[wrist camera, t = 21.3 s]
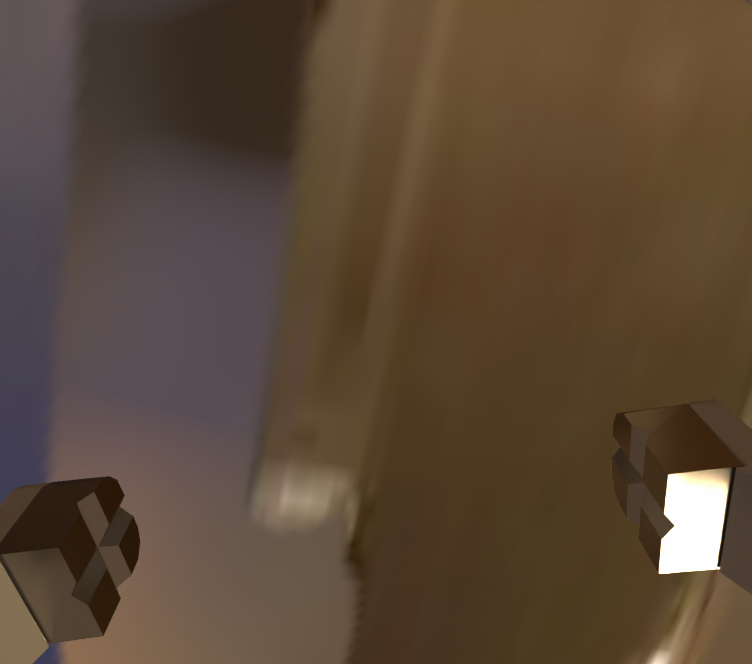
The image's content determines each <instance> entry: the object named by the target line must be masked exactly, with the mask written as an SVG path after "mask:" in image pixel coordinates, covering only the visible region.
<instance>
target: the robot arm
mask: <svg viewBox="0 0 752 664" xmlns="http://www.w3.org/2000/svg"><path fill="white" fill-rule="evenodd" d="M613 436H614V438H615V439H616V441H617V443H618V444H619V446H620V449H619V450H618V451H617V452H616V453H615V455H614V456H613V457H612V480H613V485H614V490H615V494H616V497H617V499H618V502H619V504H620V506H621V508H622V510H623V512H624V514H625V516H626V517H627V518H629V519H630V520H632V521H634V522H636V523H637V524H639V525H640V526H639V540H640V542H641V544H642V545H643V547H644V549H645V551H646V552H647V554H648V556H649V558H650V559H651V561H652V563H653V564H654V566H655V568H656V570H657V571H658V573H659V574H662V573H674V572H686V571H698V570H710V569H720V570H719V572H721V573H722V574H723V575H725V576H726V577H728V578H729V579H731V580H732V581H733V582H735V583H736V584H738V585H739V586H741V587H742V588H744V589H745V590H746V591H748V592H749V593H750V594H752V429H751V428H750V427H749V426H747V425H746V424H745V423H744V422H743V421H742V420H741V419H740V418H739V417H738V416H737V415H736V414H735V413H734V412H733V411H732V410H731V409H730V408H728V407H727V406H726V405H725V404H724V403H723V402H722V401H719V400H717V399H708V400H702V401H696V402H689V403H683V404H681V405H675V406H668V407H660V408H653V409H645V410H638V411H630V412H623V413H616V416H615V419H614V422H613ZM123 498H124V493H123V491H122V489H121V487H120V485H119V483H118V481H117V480H116V479H114V478H112V477H109V476H107V477H97V478H87V479H77V480H68V481H58V482H51V483H41V484H33V485H25V486H21V487H19V488H16V489H14V490H13V491H12V492H11V493H10V494H9V495H8V497H7V498H6V499H5V500H4V501H3V503H2V504H1V505H0V664H32V663H33V662H34V661H35V660H36V659H37V658H38V657H39V656H40V655H41V654H42V653H43V652H44V651H45V650H46V649H47V648H48V647H49V645H48V644H50V643H57V642H64V641H71V640H78V639H85V638H92V637H99V636H104V633H105V631H106V629H107V627H108V625H109V623H110V621H111V618H112V616H113V614H114V612H115V610H116V608H117V605H118V603H119V601H120V599H121V598H120V596H119V593H118V590H117V587H118V586H119V585H120V584H121V583H123V582H124V581H125V580H126V579H127V578H128V577H130V575H132V572H133V570H134V568H135V565H136V563H137V561H138V555H139V546H140V538H139V531H138V527H137V524H136V522H135V519H134V517H133V516H132V515H131V514H129V513H128V512H126V511H125V510H124V509H122V508H121V507H120V505H121V503H122V500H123Z"/></svg>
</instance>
